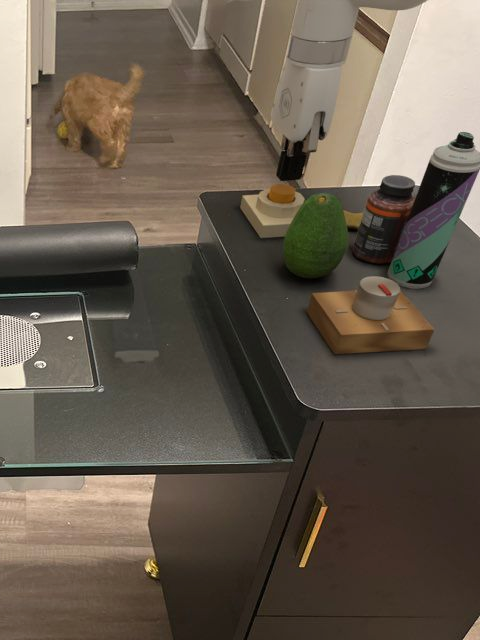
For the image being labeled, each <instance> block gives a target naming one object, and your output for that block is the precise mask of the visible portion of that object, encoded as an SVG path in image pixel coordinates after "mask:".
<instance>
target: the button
mask: <svg viewBox="0 0 480 640" xmlns="http://www.w3.org/2000/svg"><path fill="white" fill-rule="evenodd" d="M269 188H270V193H269V197H268V200H270V201H272V202H274V203H280V204H287V203H292V202H293V200H294V196H295V192H297V189H296V188H295V187H294V186H292V185H290V184H285V183H284V184H283V183H277V184H273V185H271V187H269Z"/></svg>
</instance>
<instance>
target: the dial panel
mask: <svg viewBox="0 0 480 640" xmlns="http://www.w3.org/2000/svg"><path fill="white" fill-rule="evenodd" d="M356 292H357V289H354V290H343V291H342V290H341V291H325V292H324V291H323V292H312V293H311V296H310V300H309V303H308V305H307V308H306V309H307V310H306V314H307V315H308V317H309V318H310V320H311V322H312V323H313V324H314V326H315V327H316V329H317V330H318V332H319V333H320V335H321V336H322V338H323V340H324V341H325V342H326V344H327V345H328V347H329V348H330V349H331V351H332V352H333V354H334V355H347V354H363V353H378V352H379V353H382V352H395V351H396V352H397V351H413V350H414V351H415V350H426V349H427V347H428V345H429V343H430V341H431V338H432V336H433V334H434V332H435V328H434V327H433V325H431V323H430V322H429V321H428V320H427V319H426V318H425V317H424V315H423V314H422V313H421V312H420V311H419V310H418V308H416V306H415V305H414V304H413V302H412V301H410V299H409V298H408V297H407V296H406V295H405V293H403V291H402V289H400V293H399V295H398V298H397V300H396V303H395V305H394V308H393V311H392V313H391V315H390V316H389V317H388V318H386V319H383V320H371V319H366V318H363V317H361V316H359V315H357V314H356V313H355V312H354V311H353V309H352V304H353V301H354V298H355V295H356Z"/></svg>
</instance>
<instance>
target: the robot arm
mask: <svg viewBox="0 0 480 640" xmlns="http://www.w3.org/2000/svg"><path fill="white" fill-rule="evenodd" d="M427 1H428V0H297V2H296V5H295V11H294V16H293V20H292V25H291V29H290V30H291V31H290V35H289V41H288V44H287V50H286V55H285V60H284V64H283V66H282V69H281V72H280V75H279V79H278V83H277V87H276V90H275V94H274V98H273V102H272V108H271V112H270V121H271V122H272V124H273V126H275V127H276V128H277V129H278V130H279V132H280V133H281V134H282V137H281V138H282V139H281V145H280V148H281V151H280V156H279V161H278V165H277V169H276V174H275V176H276V178H277V179H278V180H279V181H280V182H288V181H299V180H301V179H302V178H303V173H304V168H305V165H306V161H307V157H308V156H309V154H311V153H316V152H317V151H318V143H319V141H323V140H325V139H326V138H327V137H328V134H329V133H330V128H331V124H332V121H333V118H334V113H335V109H336V104H337V99H338V95H339V94H338V93H339V88H340V83H341V82H340V81H341V75H342V67H343V66H342V65H344V64H346V62H347V59H348V55H349V51H350V50H349V49H350V47H351V43H352V39H353V34H354V31H355V26H356V24H357V19H358V15H359V12H360V8H367V9H368V8H369V9H376V10H377V9H378V10H384V11H385V10H386V11H406V10H410V9H414V8H417V7H419V6H421V5H424V3H426V2H427Z"/></svg>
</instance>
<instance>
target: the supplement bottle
mask: <svg viewBox="0 0 480 640" xmlns="http://www.w3.org/2000/svg"><path fill="white" fill-rule="evenodd" d="M415 186H416V182H415V180H414V179H413V178H410V177H408V176H405V175H401V174H390V175H385V176H384V177H383V178H382V179H381V182H380V185H379V188H378V189H377V190H374V191H372V193H370V195H369V196H368V198H367V201H366V205H365V208H364V209H363V212H362V213H363V217H362V220H361V223H360V226H359V229H358V230H357V233H356V235H355V240H354V242H353V246H352V253H353V254H354V256H355V257H356V258H357V259H360V260H361V261H364V262H367V263H371V264H377V265H378V264H379V265H380V264H388V263H391V262H392V259H393V257H394V254H395V251H396V249H397V246H398V243H399V241H400V238H401V235H402V233H403V230H404V227H405V225H406V222H407V219H408V217H409V214H410V211H411V208H412V206H413V203H414V200H415V198H416V196H414V195H413V194H412V193H414V188H415Z"/></svg>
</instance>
